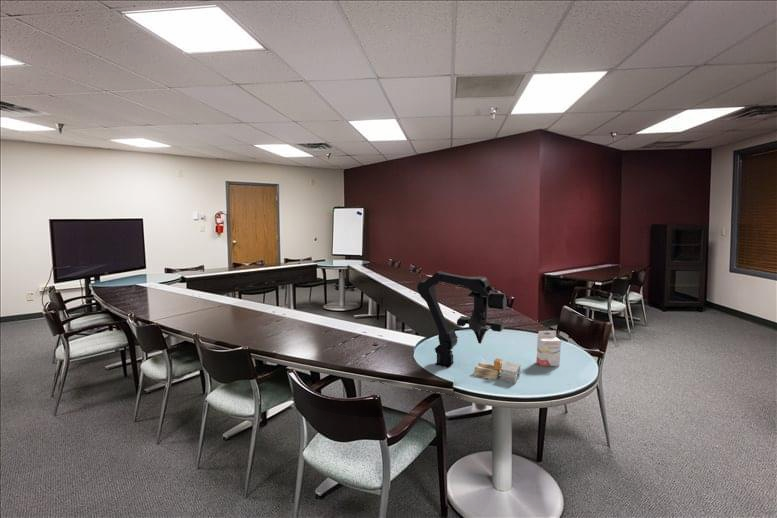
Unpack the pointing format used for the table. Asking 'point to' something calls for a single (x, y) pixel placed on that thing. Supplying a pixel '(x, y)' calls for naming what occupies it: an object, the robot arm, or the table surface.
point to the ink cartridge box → (548, 349)
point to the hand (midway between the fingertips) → (479, 343)
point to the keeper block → (510, 372)
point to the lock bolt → (498, 365)
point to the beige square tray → (486, 371)
